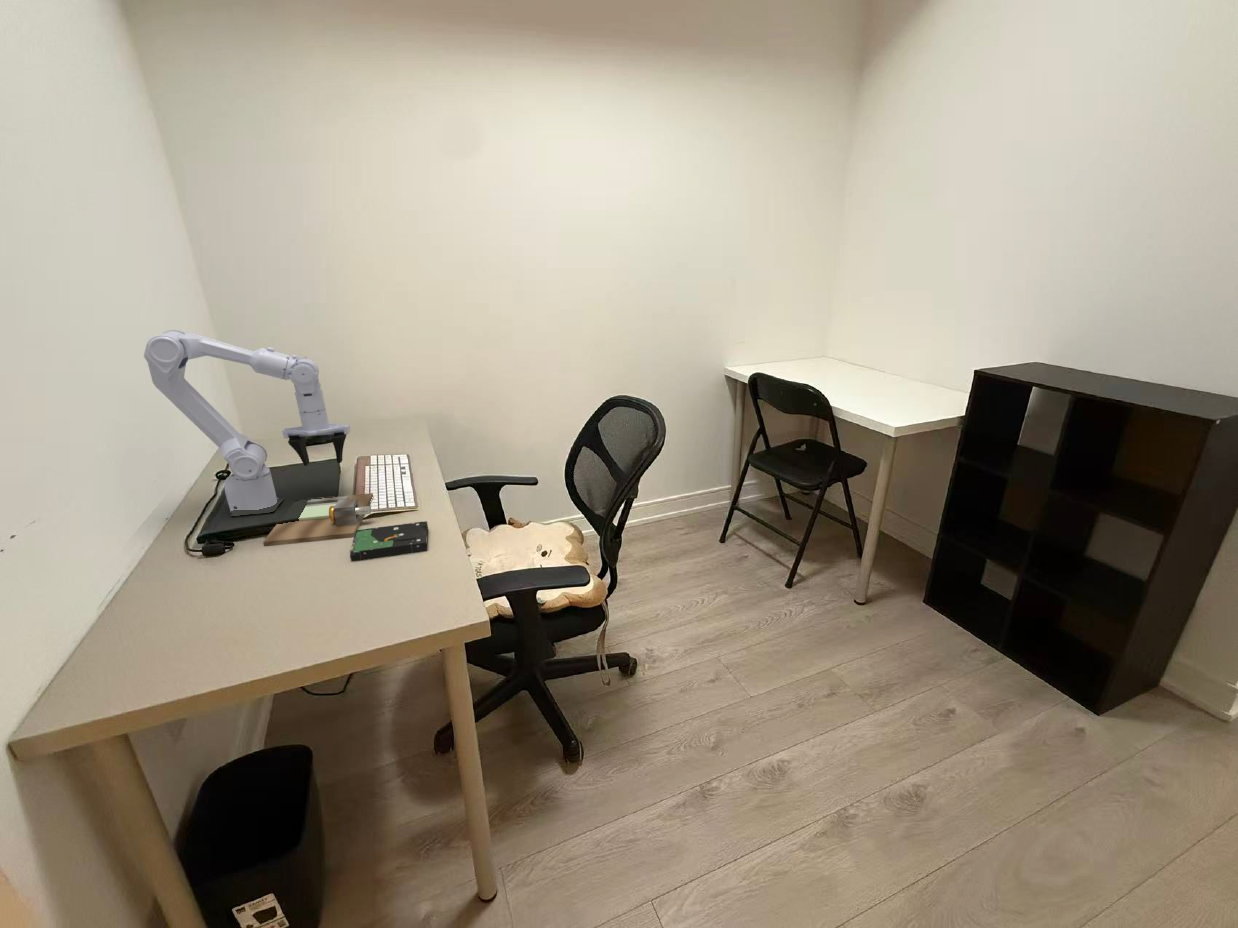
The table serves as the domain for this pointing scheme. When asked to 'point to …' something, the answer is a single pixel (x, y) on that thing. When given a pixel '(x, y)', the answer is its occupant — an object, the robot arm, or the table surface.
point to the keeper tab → (316, 511)
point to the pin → (357, 511)
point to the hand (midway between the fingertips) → (323, 462)
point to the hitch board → (322, 522)
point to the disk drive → (389, 541)
